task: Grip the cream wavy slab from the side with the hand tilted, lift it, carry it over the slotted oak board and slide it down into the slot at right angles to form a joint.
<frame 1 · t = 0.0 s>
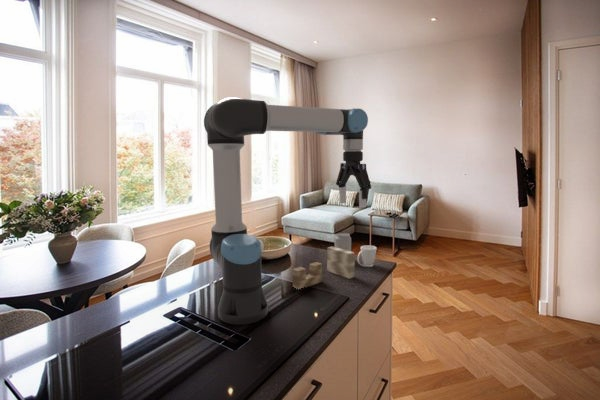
hand: (352, 205, 133), 28 cm above the kitchen island, tool pointing down, fingers open, 13 cm apart
can: (342, 260, 154), on the kitchen island
oak slot board: (307, 284, 125), on the kitchen island
cream wavy slab: (340, 273, 136), on the kitchen island
cup: (365, 266, 145), on the kitchen island
pretzel: (252, 258, 158), on the kitchen island
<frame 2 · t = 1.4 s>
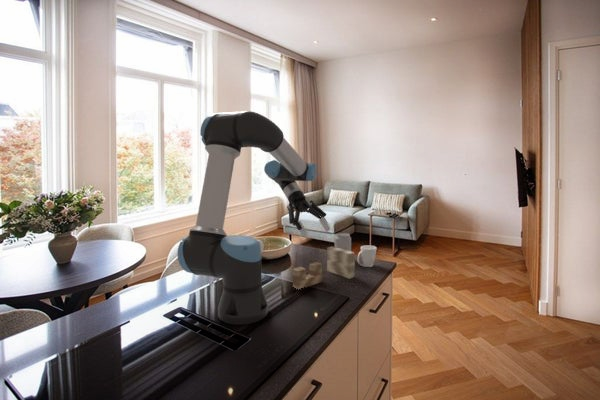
hand: (317, 232, 144), 15 cm above the kitchen island, tool tilted 45°, fingers open, 13 cm apart
nothing on the kitchen island moved.
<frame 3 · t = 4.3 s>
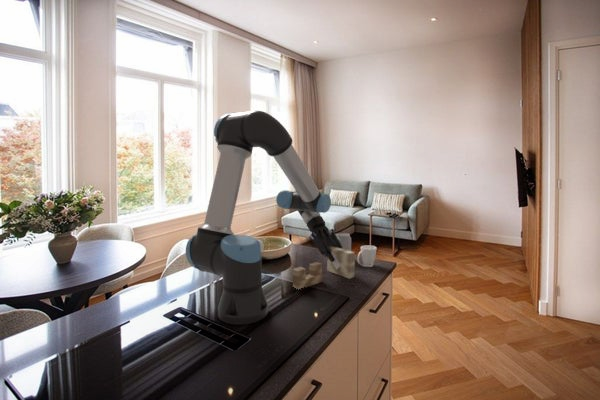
hand: (342, 266, 135), 3 cm above the kitchen island, tool tilted 45°, fingers closed on cream wavy slab, 3 cm apart
cream wavy slab: (340, 273, 136), on the kitchen island, touching gripper
everything else where it was.
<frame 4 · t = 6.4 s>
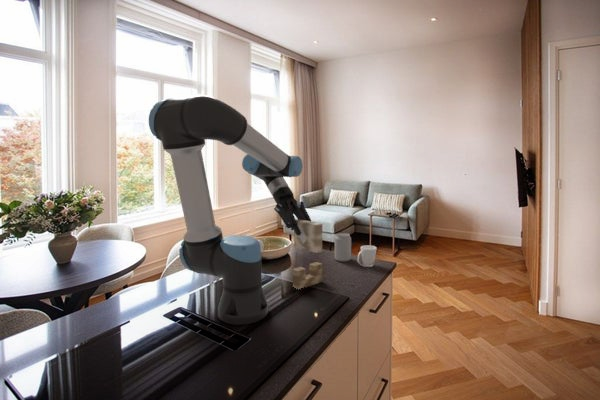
hand: (309, 240, 122), 17 cm above the kitchen island, tool tilted 45°, fingers closed on cream wavy slab, 3 cm apart
cream wavy slab: (307, 248, 123), point 14 cm above the kitchen island, touching gripper
everything else where it was.
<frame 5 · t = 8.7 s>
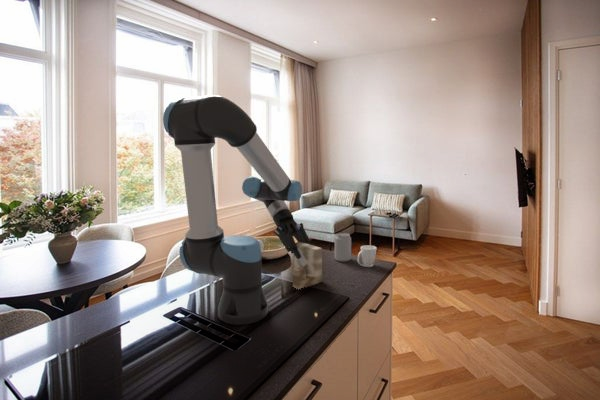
hand: (309, 263, 123), 8 cm above the kitchen island, tool tilted 45°, fingers closed on cream wavy slab, oak slot board, 3 cm apart
cream wavy slab: (307, 271, 124), point 5 cm above the kitchen island, touching gripper
everything else where it was.
when the fingers open (8 cm above the kitchen island, at t = 10.0 s): cream wavy slab stays where it is, resting on oak slot board.
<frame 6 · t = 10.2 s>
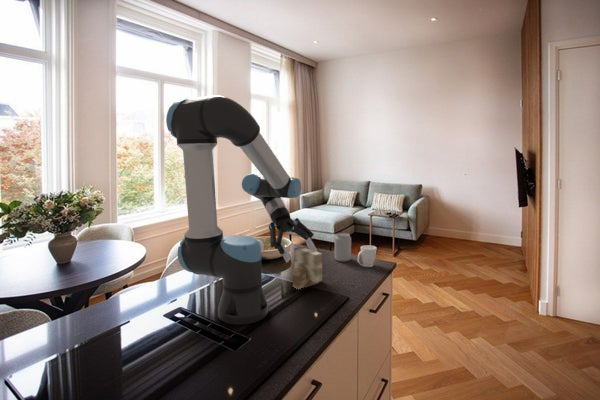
hand: (302, 257, 126), 10 cm above the kitchen island, tool tilted 45°, fingers open, 12 cm apart
cream wavy slab: (307, 276, 124), point 3 cm above the kitchen island, touching oak slot board
everything else where it was.
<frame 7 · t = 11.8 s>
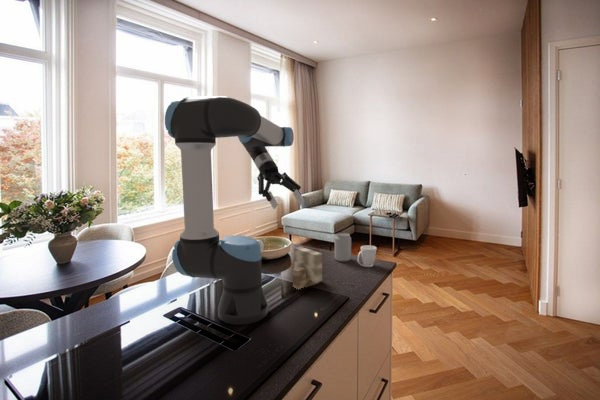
hand: (289, 205, 132), 28 cm above the kitchen island, tool tilted 45°, fingers open, 13 cm apart
nothing on the kitchen island moved.
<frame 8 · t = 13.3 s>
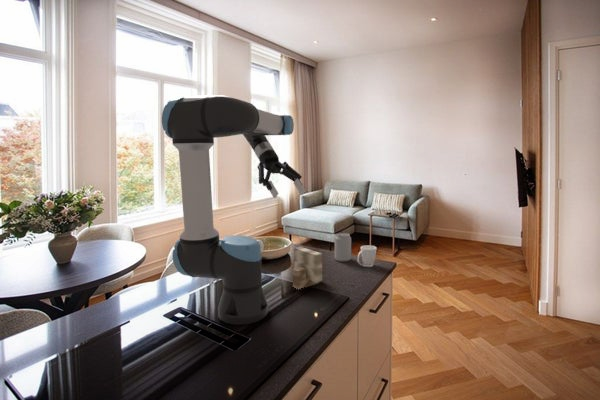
hand: (290, 194, 130), 33 cm above the kitchen island, tool tilted 45°, fingers open, 13 cm apart
nothing on the kitchen island moved.
at the end: cream wavy slab 0.1 cm off-centre on the oak slot board, point 3.0 cm above the oak slot board's base; cream wavy slab tilted 0°; the gripper is holding nothing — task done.
